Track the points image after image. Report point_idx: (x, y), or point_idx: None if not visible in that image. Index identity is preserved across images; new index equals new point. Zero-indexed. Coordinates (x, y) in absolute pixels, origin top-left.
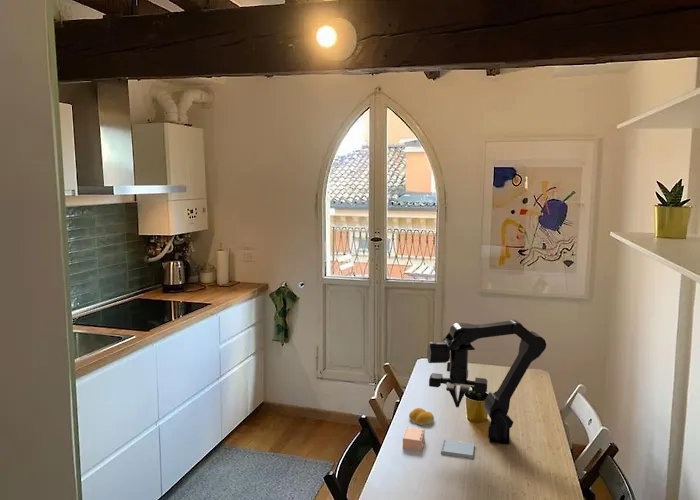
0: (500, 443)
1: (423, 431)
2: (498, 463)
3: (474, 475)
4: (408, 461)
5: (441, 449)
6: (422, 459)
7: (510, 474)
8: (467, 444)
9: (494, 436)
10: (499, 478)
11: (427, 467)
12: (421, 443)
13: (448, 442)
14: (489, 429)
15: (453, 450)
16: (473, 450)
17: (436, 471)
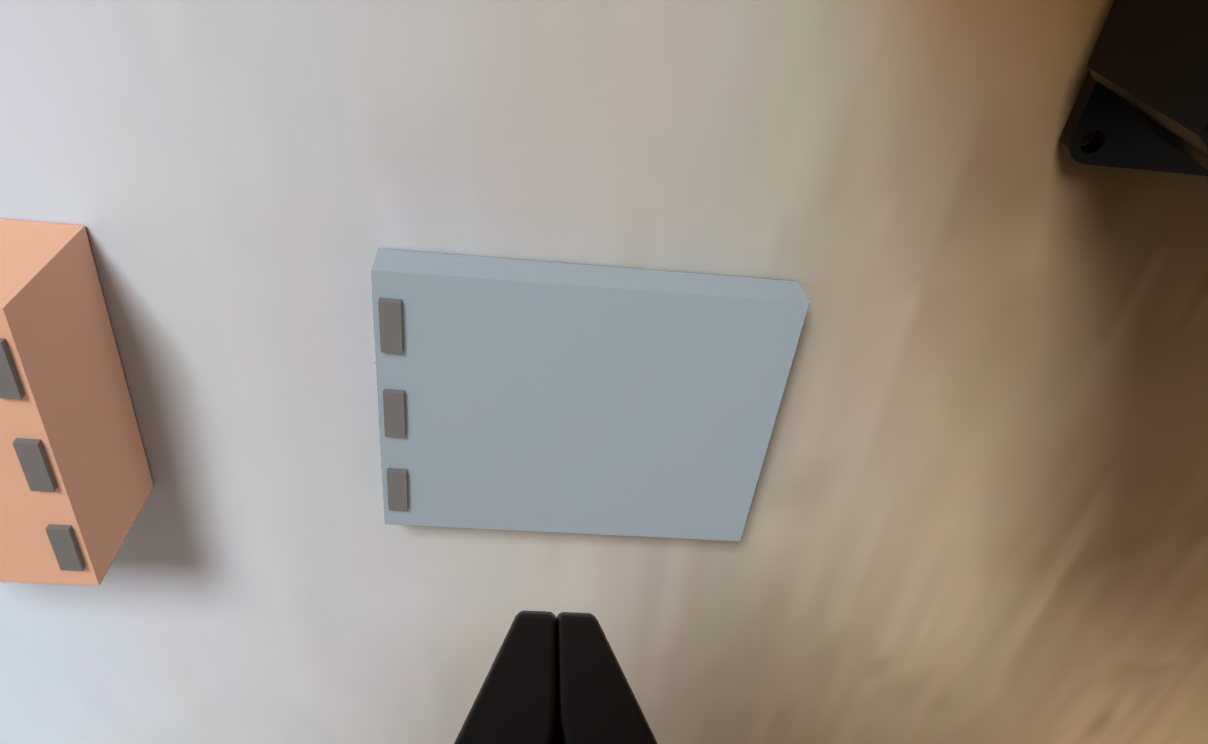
0: (1205, 169)
1: (17, 385)
2: (977, 546)
3: (709, 707)
4: (109, 648)
5: (385, 500)
6: (227, 605)
7: (1017, 657)
8: (709, 350)
9: (1187, 150)
10: (903, 706)
11: (310, 687)
12: (115, 517)
13: (450, 345)
14: (1183, 128)
15: (526, 495)
16: (765, 448)
17: (397, 714)
